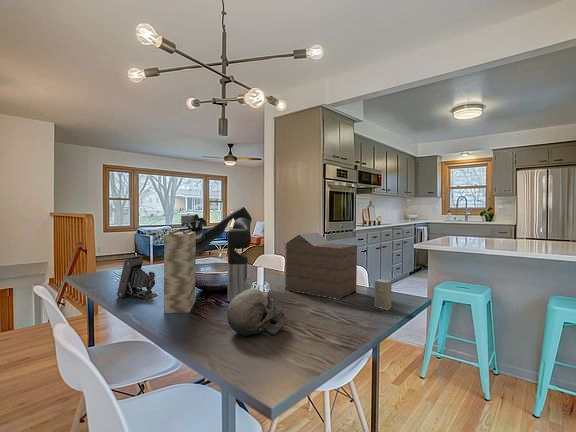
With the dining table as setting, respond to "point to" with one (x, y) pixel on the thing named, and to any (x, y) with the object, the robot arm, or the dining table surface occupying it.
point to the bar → (188, 218)
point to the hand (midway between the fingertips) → (191, 215)
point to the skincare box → (383, 293)
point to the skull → (255, 313)
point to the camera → (135, 279)
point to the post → (179, 271)
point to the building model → (320, 266)
